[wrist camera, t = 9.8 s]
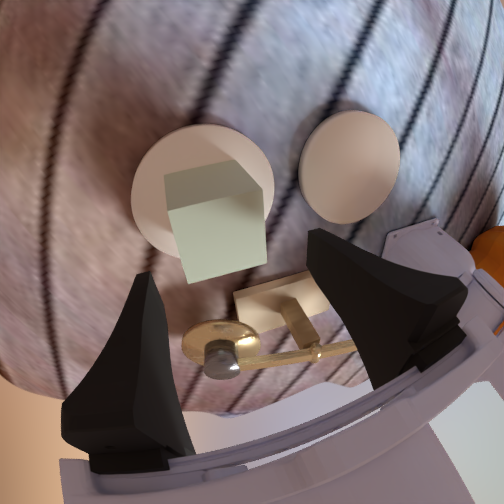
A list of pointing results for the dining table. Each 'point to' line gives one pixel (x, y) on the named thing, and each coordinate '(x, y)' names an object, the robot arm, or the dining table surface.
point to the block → (216, 219)
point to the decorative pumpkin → (490, 255)
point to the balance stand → (283, 306)
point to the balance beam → (244, 349)
